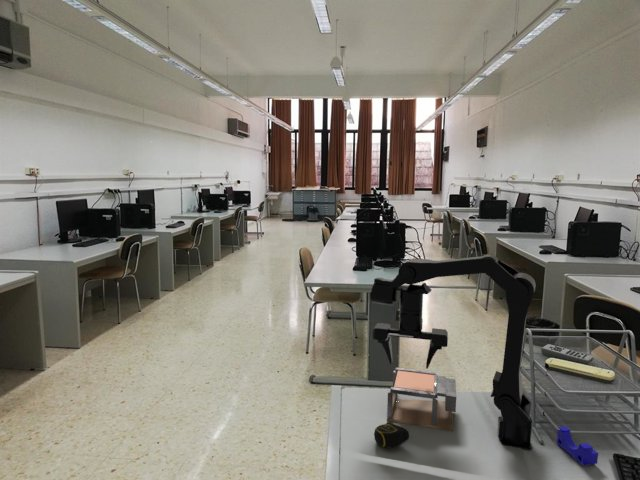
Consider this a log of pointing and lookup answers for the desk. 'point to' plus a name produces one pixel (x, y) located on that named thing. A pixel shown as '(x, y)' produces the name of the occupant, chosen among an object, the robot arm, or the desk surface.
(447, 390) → the trapdoor
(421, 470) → the desk surface
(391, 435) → the tape measure
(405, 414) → the framed copper bin
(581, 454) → the cable holder
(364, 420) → the desk surface
